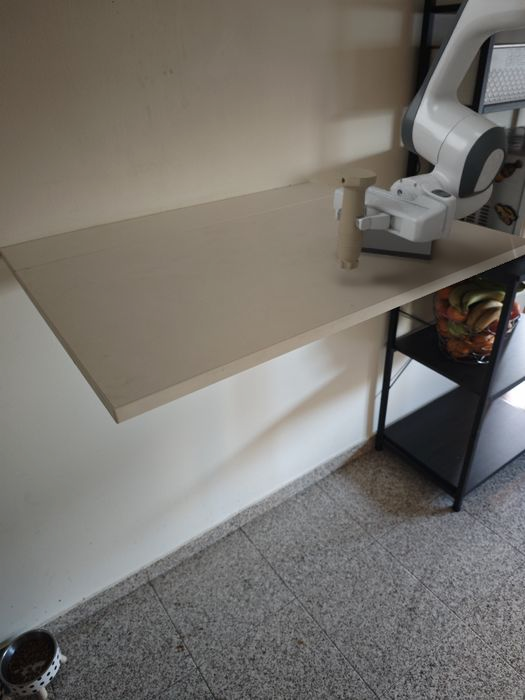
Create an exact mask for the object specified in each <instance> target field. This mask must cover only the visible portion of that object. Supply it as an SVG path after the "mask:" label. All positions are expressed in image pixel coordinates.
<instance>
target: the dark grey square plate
mask: <svg viewBox="0 0 525 700" xmlns="http://www.w3.org/2000/svg"><path fill="white" fill-rule="evenodd" d="M432 243H433V240H432V241H428V242H422V243H421V242H412V241H409V240H407V239H405V238H402V237H400V236H397V235H395V234H393V233H390V232H388V231H385V230H380V229H367V230H364V233H363V243H362V248H361V253H368V254H375V255H376V254H377V255H383V256H384V255H385V256H394V257H402V258H411V259H417V260H418V259H419V260H428V261H429V260H430V258H431V252H432Z"/></svg>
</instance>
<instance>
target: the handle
mask: <svg viewBox="0 0 525 700" xmlns="http://www.w3.org/2000/svg"><path fill="white" fill-rule="evenodd" d="M377 177H378V174H377V173H376V172H375V171H373V170H370V169H366V168H361V167H353V166H349V167H348V166H347V167H340V168H338V169H336V170H335V180H336V182H337V183H338V184H340V185H341V186H342V187H344V189H343V201H342V209H341V217H340V221H339V225H338V232H337V233H338V234H337V255H338V257H337V258H338V265H339V268H340V269H346V270H349V271H350V270H353V269H357V268H358V266H359V263H360V260H359V259H360V257H361V253H362V252H361V248H362V243H363V233H364V230H360V229H358V228H356V227H355V223H356V222H355V219H356V217H359V216H362V215H364V210H365V193H366V189H367V188H368V187H370V186H375V184H376V183H377V179H378V178H377Z"/></svg>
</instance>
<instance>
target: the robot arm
mask: <svg viewBox="0 0 525 700" xmlns="http://www.w3.org/2000/svg"><path fill="white" fill-rule="evenodd" d="M523 29H525V0H463V1H462V2H461V4H460V6H459V8H458V10H457V11H456V14H455V15H454V18H453V19H452V21H451V23H450V26H449V28H448V30H447V32H446V34H445V36H444V38H443V40H442V42H441V44H440V46H439V48H438V51H437V53H436V54H435V57H434V59H433V61H432V63H431V65H430V67H429V70H428V71H427V74H426V76H425V78H424V79H423V83H422V84H421V85H420V87H419V90H418V91H417V93H416V95H415V96H414V97H413V99H412V101H411V102H410V103H409V105H408V107H407V108H406V110H405V112H404V113H403V116H402V119H401V123H400V139H401V142H402V145H403V147H404V148H405V149H406V150H408V151H409V152H411V153H413V154H415V155H416V156H418V157H420V158H423V159H425V160H426V161H427V162H429V163H430V164H432V165H433V166H434V168H433V170H432V171H431V172H429V173H423V174H418V175H414V176H409V177H408V176H407V177H403V178H400V179H398V180H396V181H395V182H394V183H393V184H392V185H391V187H390V188H389V190H387V189H384V188H381V187H378V186H375V185H372V186H370V187H368V188H367V189H366V193H365V210H364V215H362V216H359V217H356V219H355V222H356V223H355V227H356V228H358V229H360V230H367V229H380V230H385V231H388V232H390V233H393V234H395V235H397V236H400V237H402V238H405V239H407V240H409V241H412V242H421V243H422V242H428V241H432V242H433V241H436V240H441V239H446V238H449V237H450V235H451V232H452V228H453V224H454V222H455V221H458V220H460V219H463V218H464V219H465V218H466V217H468V216H470V215H472V214H474V213H476V212H477V211H479V210H480V209H481V208H483V207H484V206H485V205H486V204H487V203H488V201H489V199H490V198H491V196H492V193H493V188H494V184H493V183H494V182H495V181H496V180H497V178H498V177H499V175H500V173H501V171H502V169H503V167H504V165H505V162H506V159H507V153H508V136H507V132H506V130H505V128H504V127H502V126H500V125H498V124H497V122H494V121H492V120H491V119H489V118H488V117H486V116H484V115H483V114H480V113H478V112H476V111H474V110H473V109H471V108H469V107H468V106H466V105H464V104H462V103H461V102H460V101H459V97H458V88H459V87H460V85H461V83H462V82H463V80H464V78H465V76H466V74H467V72H468V70H469V68H470V67H471V65H472V63H473V62H474V59H475V58H476V56H477V54H478V52H479V50H480V49H481V46H482V45H483V44H484V43H485V41H486V40H488V38H490V37H491V36H492V35H494V34H496V33H499V32H502V31H513V30H515V31H516V30H523ZM343 189H344V187H343V186H342V187H338V188H336V189H335V191H334V193H333V209H334V211H335V213H334V214H335V215H334V219H335V220H336V221H339V222H340V217H341V209H342V201H343Z"/></svg>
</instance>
